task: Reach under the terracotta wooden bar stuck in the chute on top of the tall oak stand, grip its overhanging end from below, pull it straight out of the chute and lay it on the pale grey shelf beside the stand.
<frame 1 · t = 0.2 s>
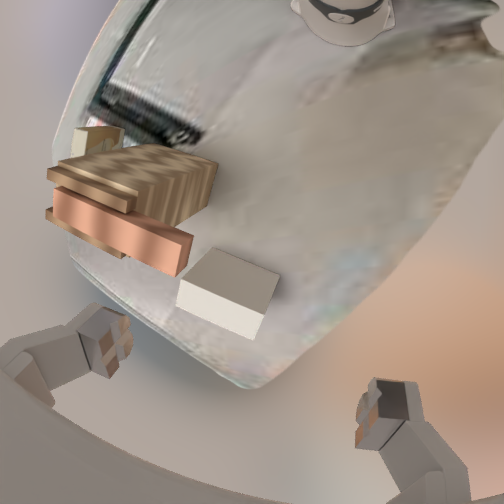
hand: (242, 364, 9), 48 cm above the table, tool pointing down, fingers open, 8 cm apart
skincare box: (116, 139, 59), on the table
chute stand: (179, 173, 59), on the table
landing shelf: (241, 273, 63), on the table
bar: (120, 220, 35), point 26 cm above the table, touching chute stand
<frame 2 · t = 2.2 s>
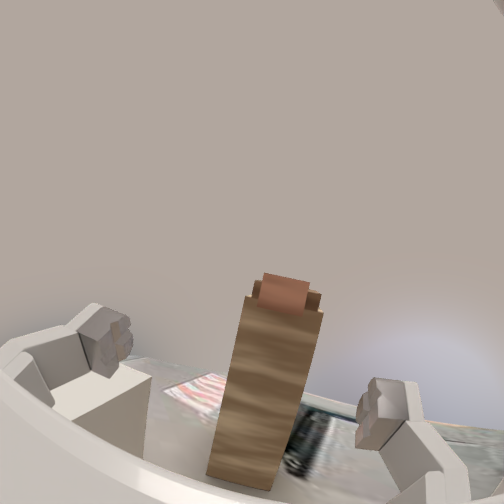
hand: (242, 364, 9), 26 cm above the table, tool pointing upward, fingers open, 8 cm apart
chute stand: (247, 457, 39), on the table
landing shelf: (93, 481, 24), on the table
bar: (285, 303, 35), point 26 cm above the table, touching chute stand
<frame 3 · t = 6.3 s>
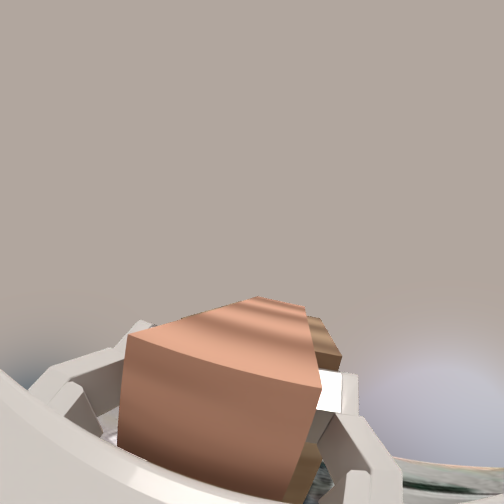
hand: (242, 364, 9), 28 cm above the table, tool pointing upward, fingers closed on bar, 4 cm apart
bar: (256, 368, 15), point 26 cm above the table, touching chute stand, gripper
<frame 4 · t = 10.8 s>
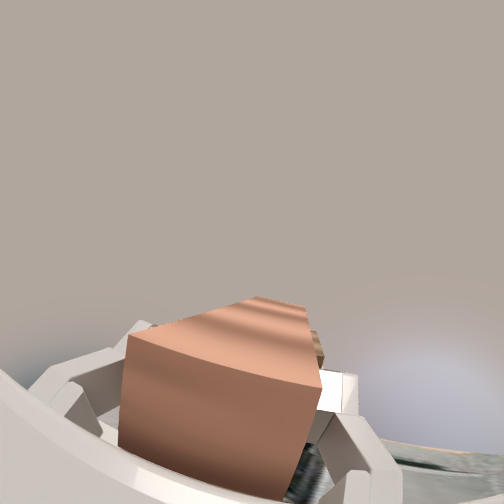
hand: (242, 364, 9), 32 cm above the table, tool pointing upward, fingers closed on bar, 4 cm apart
chute stand: (240, 502, 33), on the table
bar: (256, 368, 15), point 30 cm above the table, touching gripper
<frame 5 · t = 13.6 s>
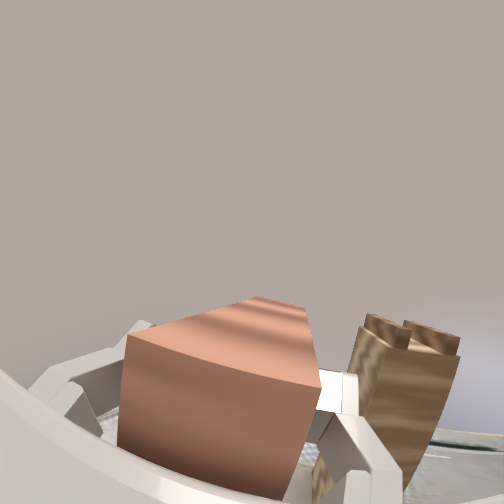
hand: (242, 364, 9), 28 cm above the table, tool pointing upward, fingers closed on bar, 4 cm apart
chute stand: (341, 500, 31), on the table
bar: (256, 368, 15), point 26 cm above the table, touching gripper
when the fingers open (19 cm above the table, at t = 15.8 s): bar drops 2 cm, resting on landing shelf.
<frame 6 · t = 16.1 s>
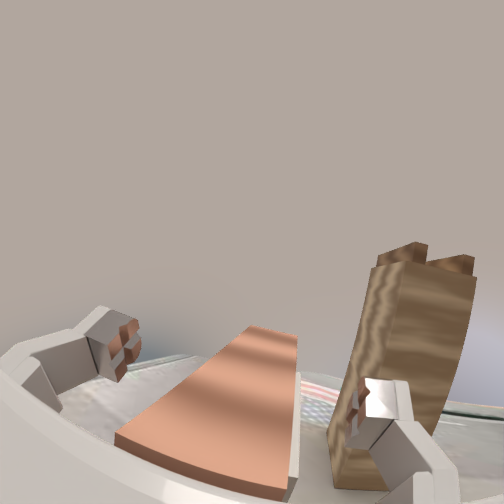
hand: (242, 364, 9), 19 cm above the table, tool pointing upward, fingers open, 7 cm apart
chute stand: (361, 459, 31), on the table
bar: (245, 409, 15), point 14 cm above the table, touching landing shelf
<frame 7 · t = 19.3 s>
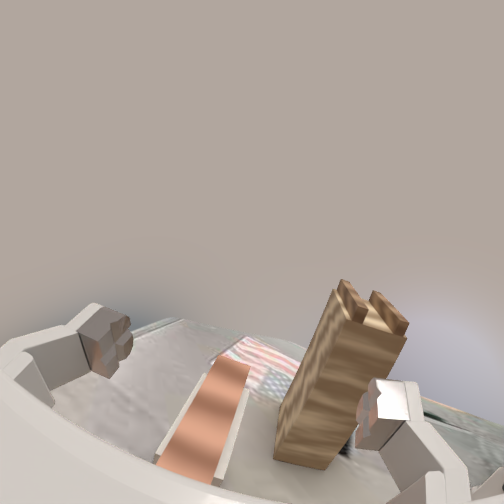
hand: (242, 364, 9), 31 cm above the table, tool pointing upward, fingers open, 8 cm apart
chute stand: (300, 436, 46), on the table
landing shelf: (185, 486, 29), on the table
bar: (205, 430, 25), point 14 cm above the table, touching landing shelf
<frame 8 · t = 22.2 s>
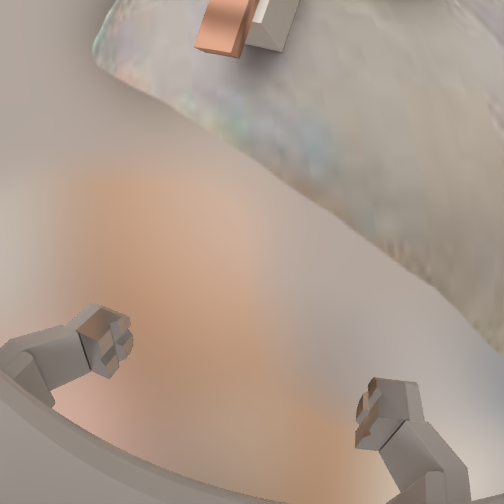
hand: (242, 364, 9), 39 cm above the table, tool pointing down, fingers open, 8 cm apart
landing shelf: (276, 7, 34), on the table
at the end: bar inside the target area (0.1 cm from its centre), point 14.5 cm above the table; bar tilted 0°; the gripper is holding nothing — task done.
